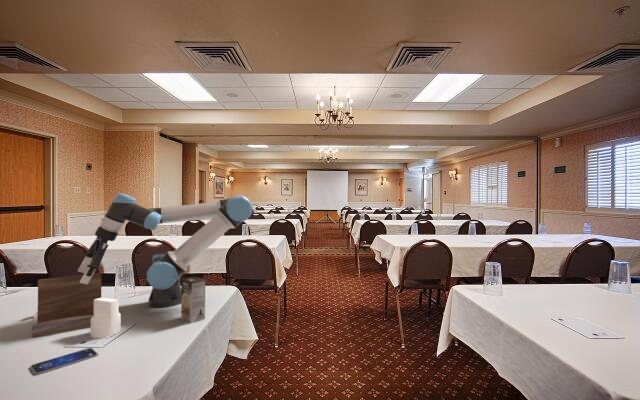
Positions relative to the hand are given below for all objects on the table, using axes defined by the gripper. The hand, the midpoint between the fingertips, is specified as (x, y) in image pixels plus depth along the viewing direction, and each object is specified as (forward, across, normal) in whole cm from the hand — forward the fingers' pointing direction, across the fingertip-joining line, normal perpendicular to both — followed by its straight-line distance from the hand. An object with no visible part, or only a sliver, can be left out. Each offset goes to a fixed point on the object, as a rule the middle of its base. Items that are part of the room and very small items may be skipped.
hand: (82, 277), depth 128 cm
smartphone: (+13, +41, -1) cm, 43 cm away
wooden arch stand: (+16, +6, +3) cm, 18 cm away
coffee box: (-2, +29, +37) cm, 47 cm away
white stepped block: (+10, +24, +11) cm, 28 cm away
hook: (+23, -14, -2) cm, 27 cm away
